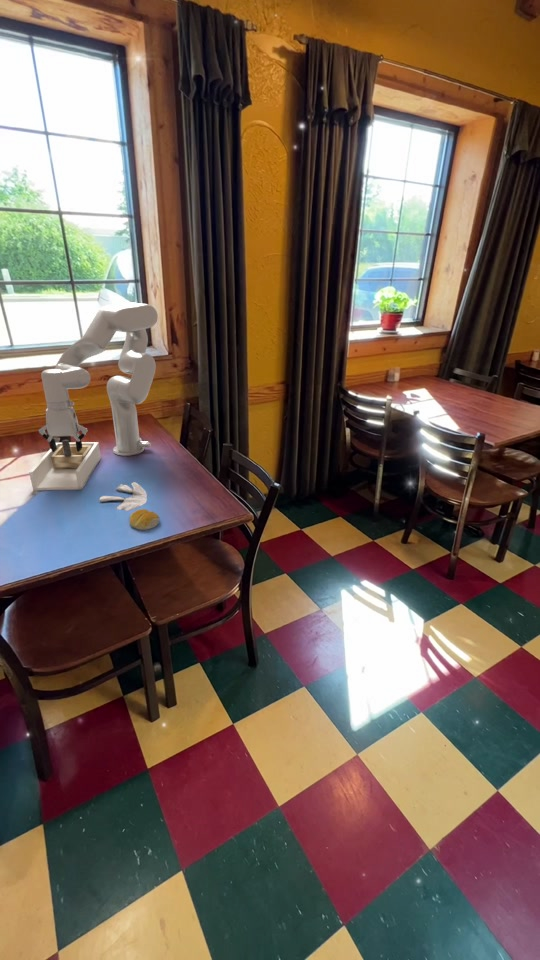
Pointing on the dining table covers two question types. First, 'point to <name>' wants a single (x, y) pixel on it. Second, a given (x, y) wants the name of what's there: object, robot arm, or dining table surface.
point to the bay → (64, 471)
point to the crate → (69, 456)
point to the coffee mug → (62, 438)
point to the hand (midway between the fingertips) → (66, 450)
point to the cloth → (128, 502)
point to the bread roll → (143, 519)
